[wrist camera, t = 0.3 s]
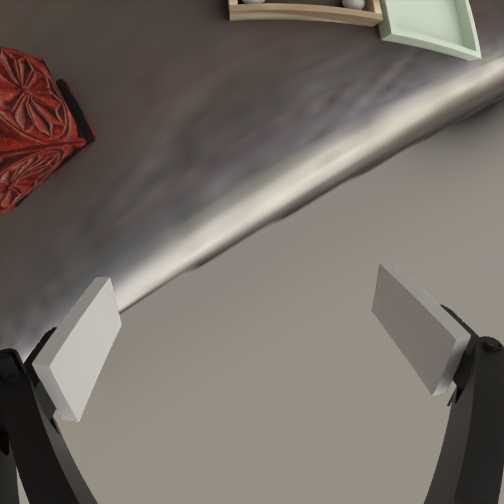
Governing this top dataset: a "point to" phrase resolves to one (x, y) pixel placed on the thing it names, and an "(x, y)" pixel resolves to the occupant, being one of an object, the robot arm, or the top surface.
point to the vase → (35, 126)
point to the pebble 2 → (353, 4)
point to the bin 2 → (431, 26)
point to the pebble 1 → (253, 1)
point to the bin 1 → (307, 12)
